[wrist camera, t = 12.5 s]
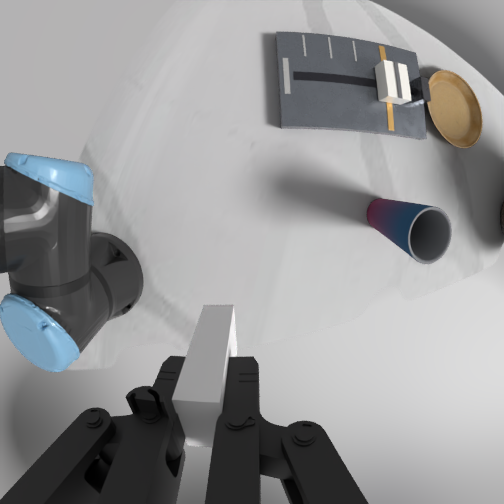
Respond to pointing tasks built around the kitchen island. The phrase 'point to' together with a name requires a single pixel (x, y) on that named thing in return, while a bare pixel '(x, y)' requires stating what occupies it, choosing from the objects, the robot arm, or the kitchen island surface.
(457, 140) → the plant saucer
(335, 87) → the console
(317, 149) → the kitchen island surface
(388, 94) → the fader
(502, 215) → the pitcher
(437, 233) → the cup
